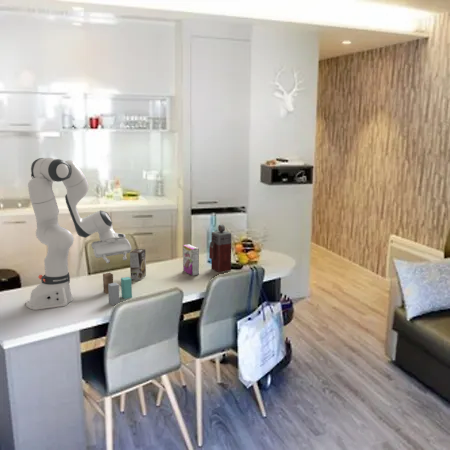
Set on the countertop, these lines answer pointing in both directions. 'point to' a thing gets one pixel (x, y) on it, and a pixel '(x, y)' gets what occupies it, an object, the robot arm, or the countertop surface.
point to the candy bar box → (191, 259)
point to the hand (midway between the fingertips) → (116, 261)
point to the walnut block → (107, 281)
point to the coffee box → (138, 264)
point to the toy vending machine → (220, 250)
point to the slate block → (113, 293)
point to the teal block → (126, 287)
